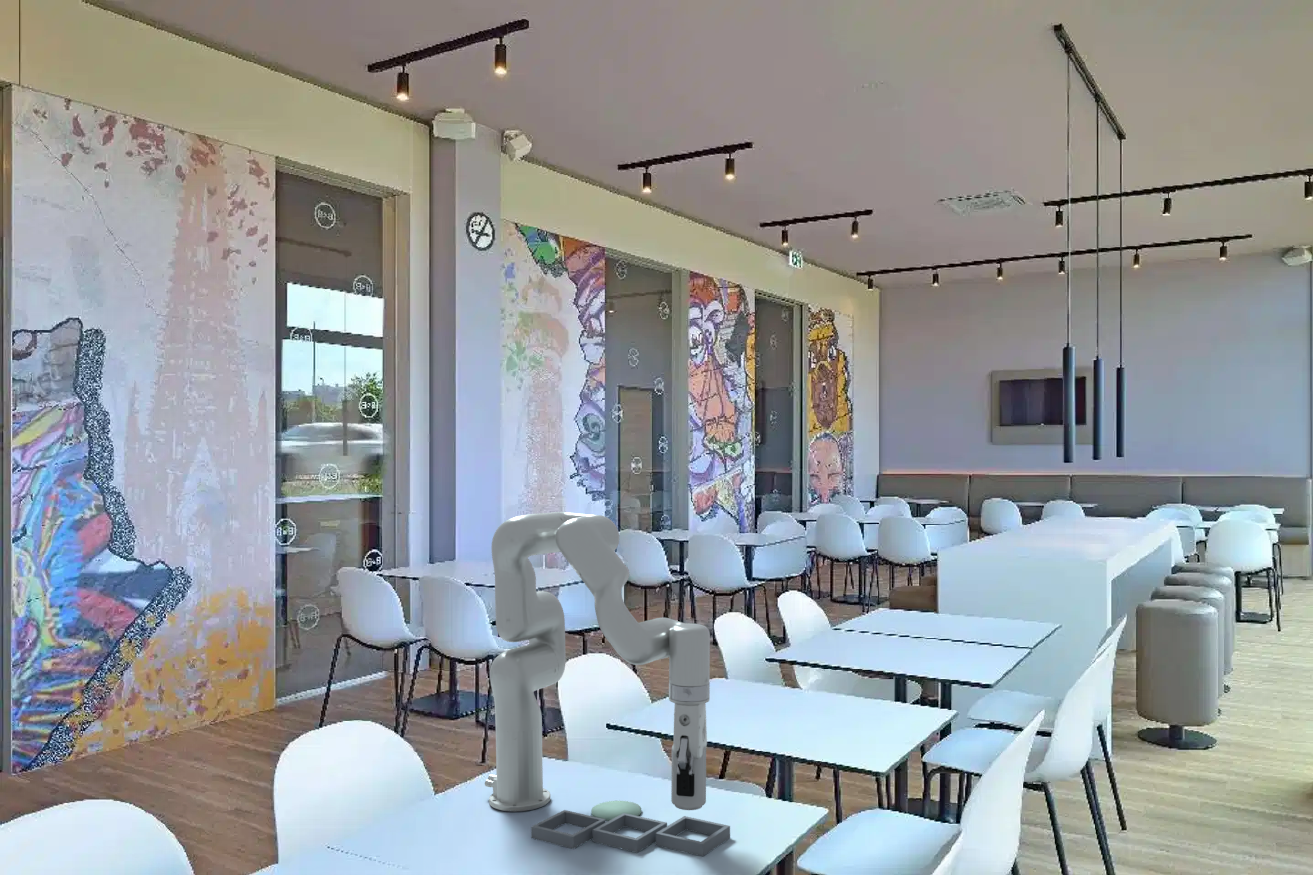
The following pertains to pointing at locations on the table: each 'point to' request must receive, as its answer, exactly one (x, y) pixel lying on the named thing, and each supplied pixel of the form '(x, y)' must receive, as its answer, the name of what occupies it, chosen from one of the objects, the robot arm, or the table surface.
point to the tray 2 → (608, 837)
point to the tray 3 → (672, 841)
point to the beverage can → (699, 783)
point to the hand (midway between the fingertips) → (688, 787)
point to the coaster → (615, 809)
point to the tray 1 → (547, 834)
